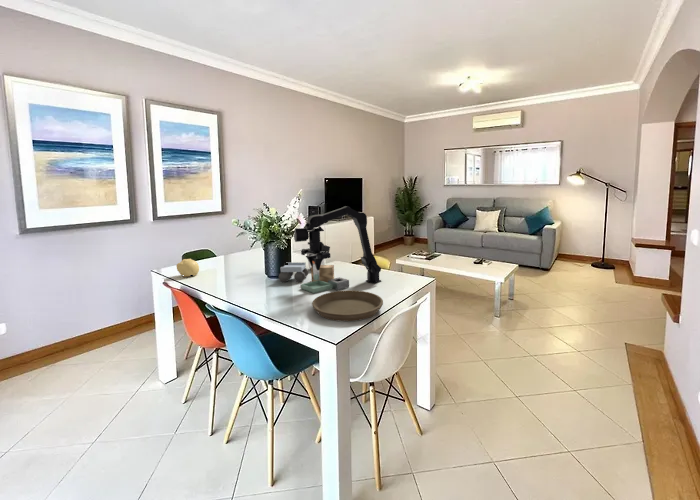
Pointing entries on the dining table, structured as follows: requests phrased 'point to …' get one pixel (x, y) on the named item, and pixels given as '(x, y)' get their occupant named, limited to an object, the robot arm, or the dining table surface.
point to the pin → (315, 272)
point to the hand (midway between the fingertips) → (316, 269)
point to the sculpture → (188, 267)
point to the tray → (316, 286)
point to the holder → (339, 283)
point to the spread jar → (321, 263)
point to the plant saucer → (347, 305)
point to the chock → (324, 273)
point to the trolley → (291, 268)
